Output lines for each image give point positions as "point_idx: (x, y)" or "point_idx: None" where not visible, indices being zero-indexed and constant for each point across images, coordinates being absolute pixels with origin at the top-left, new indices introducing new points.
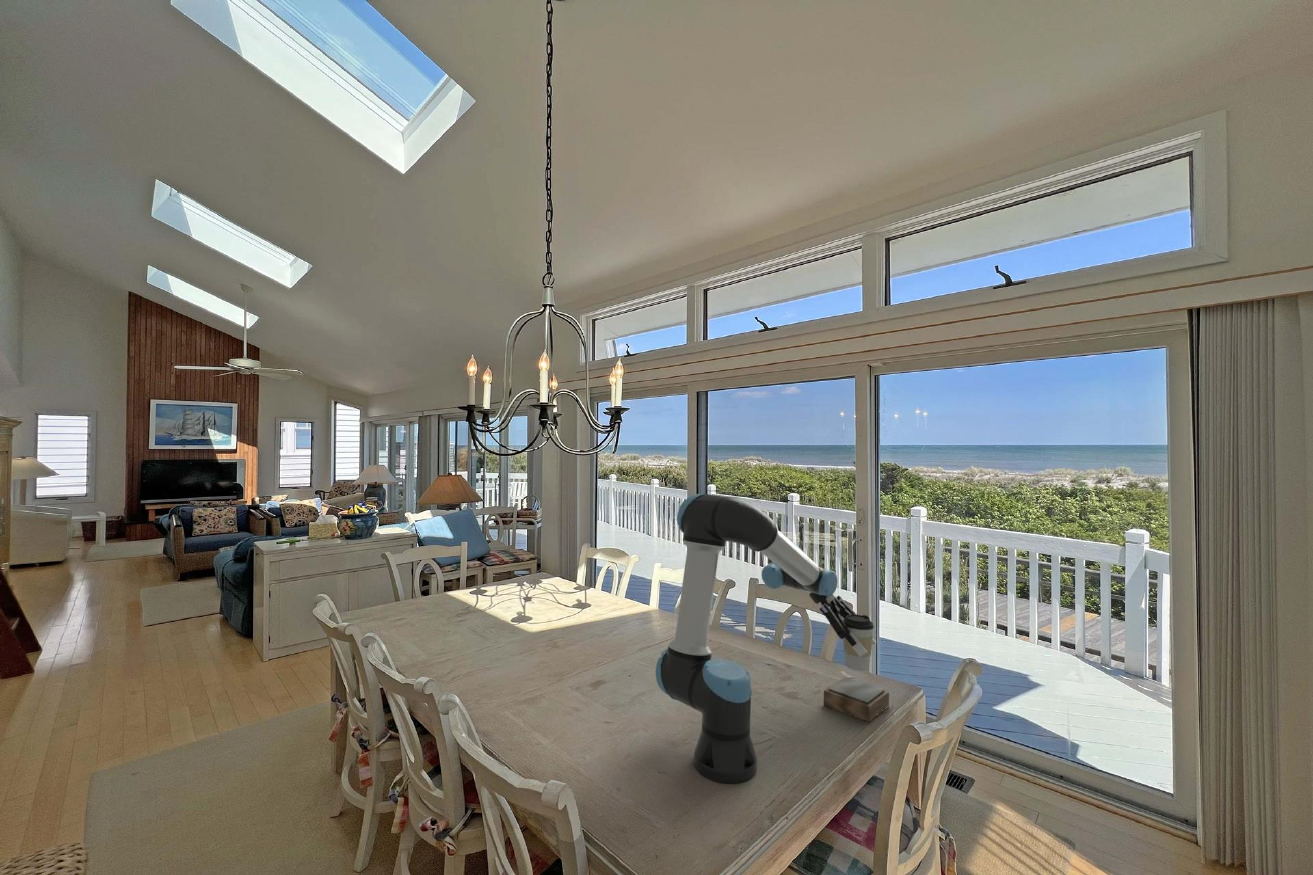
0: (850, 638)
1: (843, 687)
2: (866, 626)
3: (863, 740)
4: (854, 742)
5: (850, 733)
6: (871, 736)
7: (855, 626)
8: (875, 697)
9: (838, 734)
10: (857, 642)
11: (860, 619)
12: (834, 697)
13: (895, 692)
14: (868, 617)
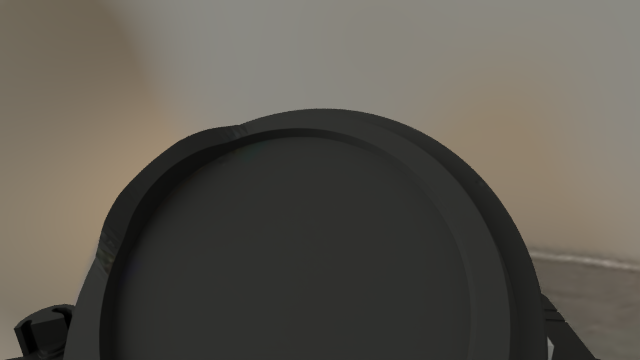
0: (576, 341)
1: None
2: (438, 144)
3: (579, 264)
4: (619, 285)
5: (573, 312)
6: (532, 250)
7: (531, 279)
8: None
9: (620, 348)
10: None
11: (293, 244)
12: None
13: None
14: (204, 137)
